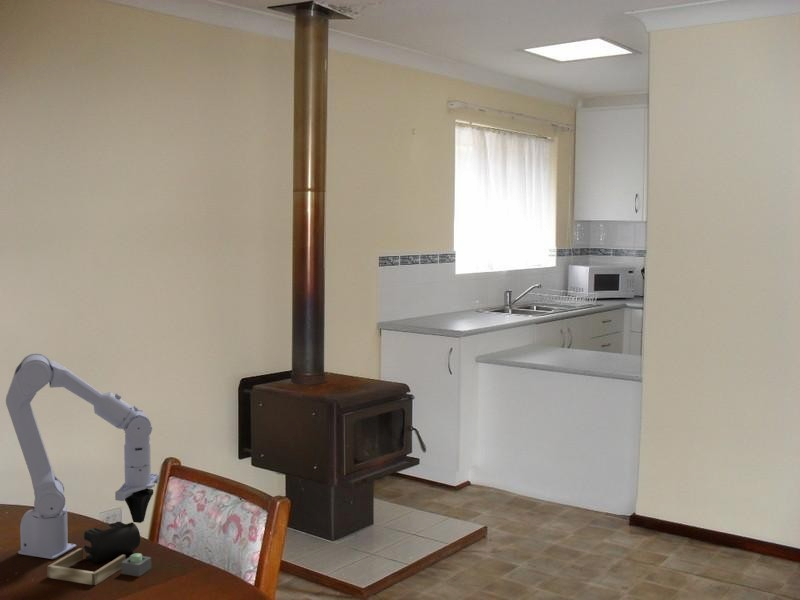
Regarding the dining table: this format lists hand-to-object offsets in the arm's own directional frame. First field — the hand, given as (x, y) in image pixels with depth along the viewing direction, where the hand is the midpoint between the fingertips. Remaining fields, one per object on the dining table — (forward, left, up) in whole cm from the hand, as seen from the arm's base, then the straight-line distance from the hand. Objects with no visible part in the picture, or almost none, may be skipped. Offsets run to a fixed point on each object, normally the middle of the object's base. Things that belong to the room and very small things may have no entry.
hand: (138, 521), depth 198 cm
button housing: (+9, -15, -5) cm, 18 cm away
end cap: (0, -10, -5) cm, 11 cm away
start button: (+9, -15, -4) cm, 18 cm away
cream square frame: (0, -19, -5) cm, 19 cm away
